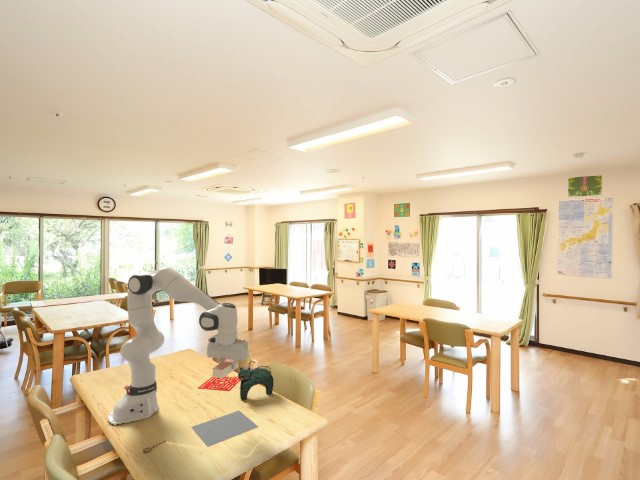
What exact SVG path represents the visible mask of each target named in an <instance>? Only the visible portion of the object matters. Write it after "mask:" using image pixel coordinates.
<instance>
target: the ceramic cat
mask: <svg viewBox="0 0 640 480" xmlns="http://www.w3.org/2000/svg"><path fill="white" fill-rule="evenodd" d="M251 363H254V364H256V361H252V360H251V361H250V362H249V363H248V365H250V364H251ZM271 372H272V370H271V368H270V367H269V366H268V365H261V366H257V367H254V368H251V367H250V366H248V367H247V366H246V367H245V366H241V367H239V369H238V371H237V377H238V378H239V379H240V387H239V390H240V391H239V398H240V401H246V400H247V399H248V394H249V391H250V390H251V388H252V387H255V386H256V385H257V386H258V385H263V386H264V387H265V394H266V396H270V395H273V392H274V391H273V390H274V377H273V375H272V373H271ZM239 379H238V380H239Z"/></svg>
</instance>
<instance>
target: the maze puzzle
mask: <svg viewBox="0 0 640 480" xmlns="http://www.w3.org/2000/svg"><path fill="white" fill-rule="evenodd" d="M234 377H235V378H234ZM234 377H231V378H232V379H231V378H229V377H224V378H216V377H213V375H212V376H211V377H210V378H208V379H207V380H205V382H203V383H202V384H200V385H199V386H198V387H197V389H200V390H201V389H202V390H212V391H214V390H215V391H225V392H230V391H231V390H232V389H233V388H234V387H235V386H236V385H237V384H238V383H239V382H241V380H240V379H239V378H237V377H238V376H234ZM210 379H211V380H210ZM216 379H217V380H216ZM218 379H220V380H218ZM221 380H222V381H221ZM223 380H225V381H223ZM226 381H227V382H226ZM225 382H226V383H225Z"/></svg>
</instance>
